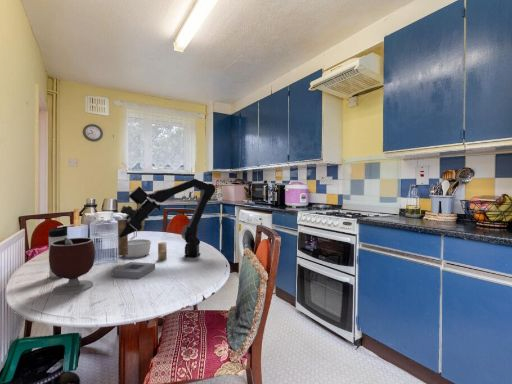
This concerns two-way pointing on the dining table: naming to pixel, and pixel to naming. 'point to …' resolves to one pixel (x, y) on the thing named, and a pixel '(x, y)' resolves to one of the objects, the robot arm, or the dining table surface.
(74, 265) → the mate gourd
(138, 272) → the socket board
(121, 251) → the walnut pin
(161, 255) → the short beech pin
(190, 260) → the dining table surface
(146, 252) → the ramekin
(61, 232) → the travel mug
